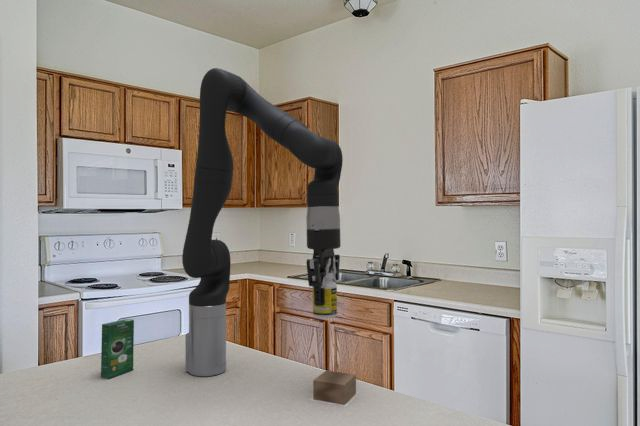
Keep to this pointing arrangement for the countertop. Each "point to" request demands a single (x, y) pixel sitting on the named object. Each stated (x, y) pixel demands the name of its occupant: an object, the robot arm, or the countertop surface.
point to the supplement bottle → (327, 300)
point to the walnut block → (334, 387)
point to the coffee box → (117, 348)
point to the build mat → (337, 403)
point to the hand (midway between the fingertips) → (324, 302)
